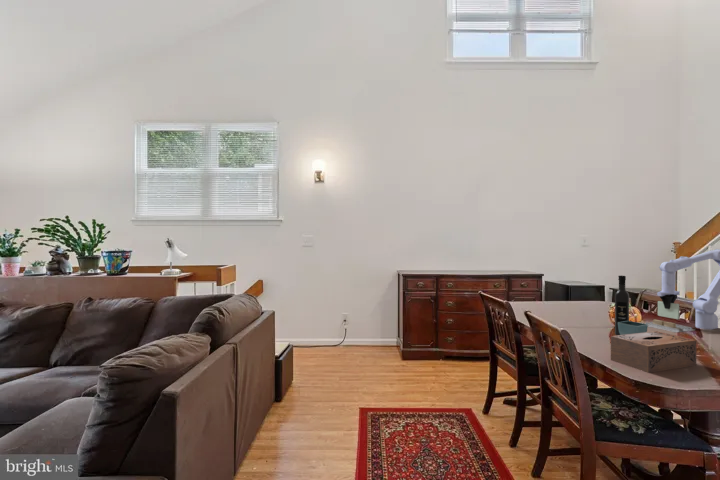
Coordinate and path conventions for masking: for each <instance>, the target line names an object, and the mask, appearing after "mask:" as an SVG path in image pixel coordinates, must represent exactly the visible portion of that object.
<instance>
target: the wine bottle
mask: <svg viewBox="0 0 720 480" xmlns="http://www.w3.org/2000/svg"><path fill="white" fill-rule="evenodd" d="M623 321H630V294H629V292H628V291H627V290H626V276H625V275H618V289H617V291H616V292H615V295H614V335H615V336H616V335H620V333H619V329H618V322H623Z"/></svg>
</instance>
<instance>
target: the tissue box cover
mask: <svg viewBox="0 0 720 480" xmlns="http://www.w3.org/2000/svg"><path fill="white" fill-rule="evenodd" d="M610 361H613V362H615V363H619V364H622V365H624V366H627V367H630V368H632V369H633V368H634V369H636V370H639V371H641V370H642V372H644V373H647V374H648V373H649V374H650V373H654V372H663V371H668V370H674V369H680V368H687V367H693V366H697V339H693V338H688V337H685V336H679V335H675V334H670V333H667V332H666V333H665V332H662V331H658V330H657V331H655V330H654V331H647V332H644V333H635V334H626V335H616V334H615V335H611V336H610Z"/></svg>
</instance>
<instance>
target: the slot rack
mask: <svg viewBox="0 0 720 480" xmlns="http://www.w3.org/2000/svg"><path fill="white" fill-rule="evenodd" d="M645 324H648V327H649V328H654V329H657V330H663V331H667V332H671V333H682V332H683V333H684V332H693V331H694V329H693V327H691V326H687V325H681V324H677V323H676V328H672V327H667V326H662V325H657V324H653V321H649V322H647V321H645ZM648 327H647V328H648Z"/></svg>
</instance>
